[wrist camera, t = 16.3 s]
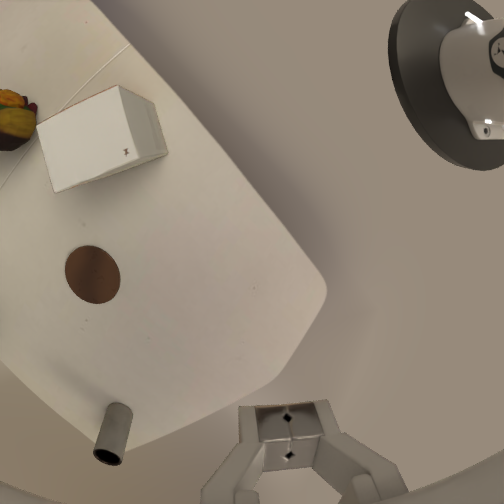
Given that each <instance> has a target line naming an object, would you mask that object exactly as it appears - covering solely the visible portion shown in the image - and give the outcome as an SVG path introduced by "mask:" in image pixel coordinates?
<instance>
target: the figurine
mask: <svg viewBox="0 0 504 504" xmlns="http://www.w3.org/2000/svg"><path fill="white" fill-rule="evenodd" d="M27 104H28V100H27V97H26V96H20V95H19V94H17V93H16V92H13V91H11V90H8V89H5V90H2V89H0V151H13V150H15V149H17V148H19V147H20V146H22V145H23V144H25V143H26V142H28V141H29V140H30V138H31V136H32V134H33V132H34V130H35V126H36V118H35V117H36V112H37V105H36V104H35V103H31V104H29V105H27Z"/></svg>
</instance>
